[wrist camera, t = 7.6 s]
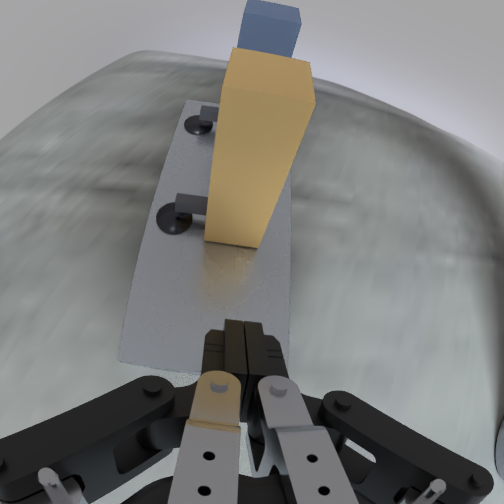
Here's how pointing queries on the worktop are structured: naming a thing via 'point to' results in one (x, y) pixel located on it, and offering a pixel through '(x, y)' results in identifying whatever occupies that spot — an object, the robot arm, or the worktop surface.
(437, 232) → the worktop surface
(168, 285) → the bolt plate
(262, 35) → the fixed leg
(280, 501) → the robot arm
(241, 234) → the block
